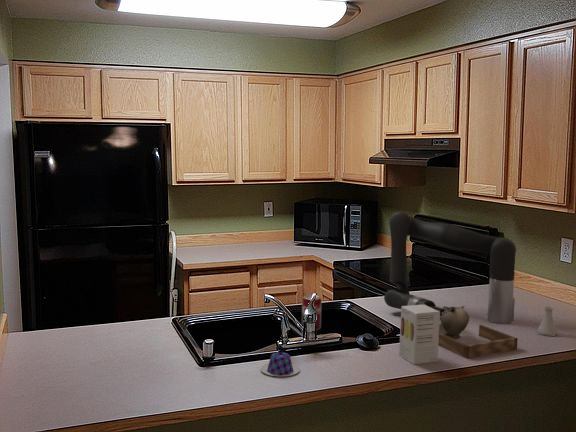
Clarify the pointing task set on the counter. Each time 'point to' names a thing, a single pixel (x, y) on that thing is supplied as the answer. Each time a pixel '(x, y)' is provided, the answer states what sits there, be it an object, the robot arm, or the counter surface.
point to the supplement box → (419, 334)
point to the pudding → (280, 365)
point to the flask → (547, 324)
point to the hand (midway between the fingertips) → (448, 317)
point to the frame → (496, 345)
